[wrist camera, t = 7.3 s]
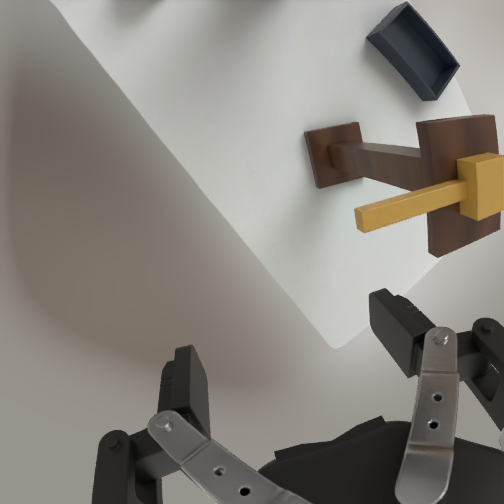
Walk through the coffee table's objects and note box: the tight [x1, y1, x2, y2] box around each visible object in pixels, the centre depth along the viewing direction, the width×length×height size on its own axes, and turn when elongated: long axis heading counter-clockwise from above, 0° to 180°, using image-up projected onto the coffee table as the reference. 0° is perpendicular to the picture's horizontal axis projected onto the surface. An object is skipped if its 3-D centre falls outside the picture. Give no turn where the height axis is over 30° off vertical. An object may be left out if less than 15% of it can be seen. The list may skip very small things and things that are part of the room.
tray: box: [366, 2, 460, 101], centre depth 45 cm, size 17×12×4 cm
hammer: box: [354, 152, 504, 233], centre depth 22 cm, size 16×5×2 cm, turn 105°
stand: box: [304, 114, 501, 258], centre depth 38 cm, size 10×12×32 cm
